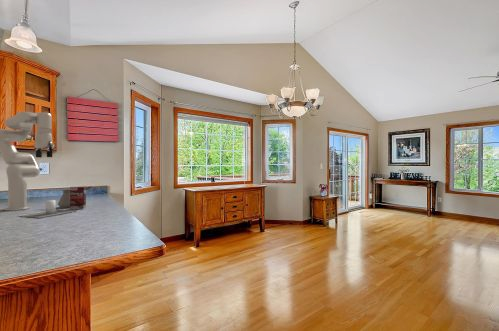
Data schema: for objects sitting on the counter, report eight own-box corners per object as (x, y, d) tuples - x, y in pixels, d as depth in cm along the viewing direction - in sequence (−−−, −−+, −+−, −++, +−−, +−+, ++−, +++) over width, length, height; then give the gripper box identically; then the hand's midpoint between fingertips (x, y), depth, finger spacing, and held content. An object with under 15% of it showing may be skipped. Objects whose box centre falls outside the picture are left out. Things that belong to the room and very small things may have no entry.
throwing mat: (18, 216, 146) (18, 215, 146) (56, 210, 168) (56, 209, 168) (40, 218, 142) (40, 217, 142) (76, 211, 163) (76, 210, 163)
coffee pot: (56, 209, 173) (57, 187, 173) (58, 206, 183) (58, 186, 183) (92, 206, 185) (92, 186, 185) (92, 204, 194) (92, 185, 194)
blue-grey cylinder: (43, 213, 153) (43, 201, 153) (52, 212, 157) (52, 200, 157) (49, 214, 151) (49, 201, 151) (57, 212, 156) (57, 200, 156)
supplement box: (69, 209, 170) (69, 187, 171) (72, 208, 175) (72, 186, 175) (83, 209, 173) (83, 186, 173) (86, 208, 177) (86, 186, 178)
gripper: (28, 131, 160) (28, 157, 160) (47, 130, 156) (47, 157, 156) (41, 132, 168) (40, 157, 167) (59, 131, 163) (59, 157, 163)
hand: (44, 157), depth 161 cm, fingers open, 9 cm apart
